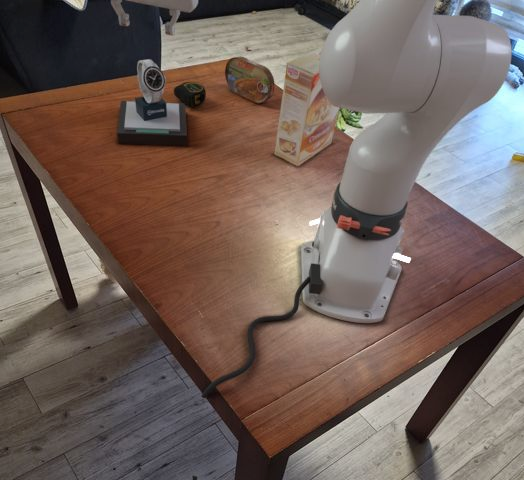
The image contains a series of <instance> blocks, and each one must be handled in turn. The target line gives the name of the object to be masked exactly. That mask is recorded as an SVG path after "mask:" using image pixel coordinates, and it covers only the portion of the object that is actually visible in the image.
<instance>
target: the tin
mask: <svg viewBox="0 0 524 480" xmlns="http://www.w3.org/2000/svg"><path fill="white" fill-rule="evenodd" d="M224 76H225V81H226V83H227V86H228V88H229V89H230V90H231V92H233V93H234V94H236V95H238V96H240V97H242V98H245V99H246V100H249V101H250V102H252V103H255V104H263V103H264V102H267V101H269V100H270V99H272V97H273V95H274V91H275V78H274V76H273V72H272V71H271V70H270V68H268V67H267V66H265V65H263V64H260V63H258V62H256V61H254V60H251V59H249V58H247V57H245V56H234V57H230V59H228V61H227V62H226V65H225V68H224Z"/></svg>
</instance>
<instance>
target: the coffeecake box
mask: <svg viewBox="0 0 524 480" xmlns="http://www.w3.org/2000/svg"><path fill="white" fill-rule="evenodd" d="M322 48H323V46H321V47H319V48H316V49H314V50H312V51H310V52H307V53H305V54H303V55H301V56H298V57H297V58H294V59H293V60H292V59H291V60H289V61H288V62H286V67H285V68H286V69H285V76H284V82H283V89H282V96H281V102H280V103H281V104H280V110H279V111H280V112H279V118H278V125H277V132H276V140H275V146H274V153H273V154H274V155H275V156H277V157H279V158H281V159H283V160H284V161H286V162H288V163H290V164H292V165H294V166H296V167H300V166H301V165H302V164H304V163H305V162H306V161H308V160H309V159H311V158H312V157H314V156H315V155H316V154H318V153H319V152H321V151H322V150H324V149H326V148H327V147H328V146H329V145H332V141H333V136H334V133H335V130H336V129H335V127H336V126H337V125H336V124H337V120H338V116H339V111H340V108H338V107H335V106H333V105H332V104H331V103H330V101H329V100H328V98H327V97H326V95H325V93H324V91H323V88H322V85H321V81H320V75H319V62H320V55H321V51H322Z"/></svg>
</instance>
